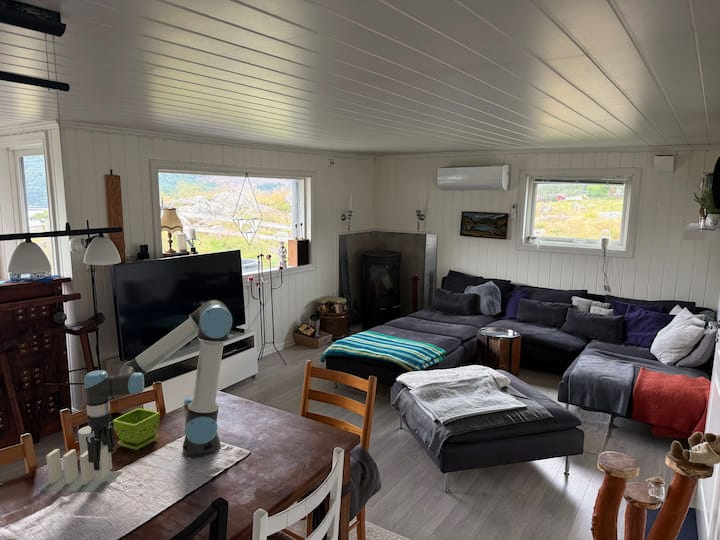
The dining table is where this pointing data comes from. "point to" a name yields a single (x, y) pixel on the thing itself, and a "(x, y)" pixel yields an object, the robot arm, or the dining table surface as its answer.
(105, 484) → the mat
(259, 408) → the dining table surface
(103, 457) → the domino
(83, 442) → the white upright cylinder
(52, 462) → the domino
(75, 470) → the domino
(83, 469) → the domino
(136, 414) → the flower pot
